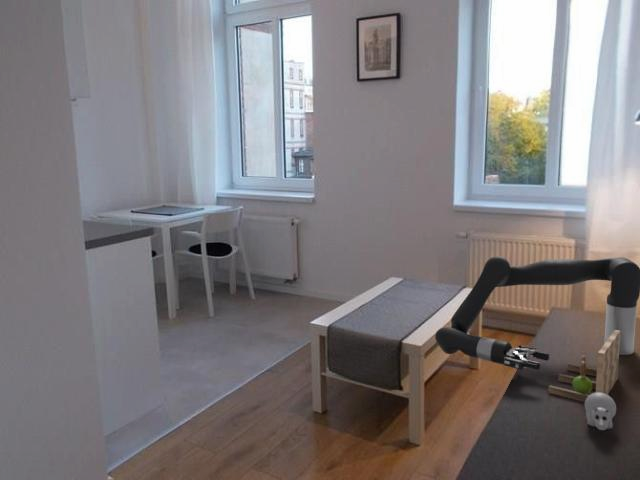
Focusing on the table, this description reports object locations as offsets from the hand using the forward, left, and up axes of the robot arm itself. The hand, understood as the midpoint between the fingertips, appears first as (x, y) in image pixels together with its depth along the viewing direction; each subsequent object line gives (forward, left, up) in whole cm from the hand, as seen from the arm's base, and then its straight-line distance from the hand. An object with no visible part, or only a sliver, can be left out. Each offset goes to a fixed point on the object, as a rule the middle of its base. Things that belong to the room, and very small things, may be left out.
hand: (544, 361), depth 171 cm
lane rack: (-5, +10, -7) cm, 13 cm away
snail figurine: (0, +11, -7) cm, 13 cm away
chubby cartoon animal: (+19, +20, -7) cm, 29 cm away
